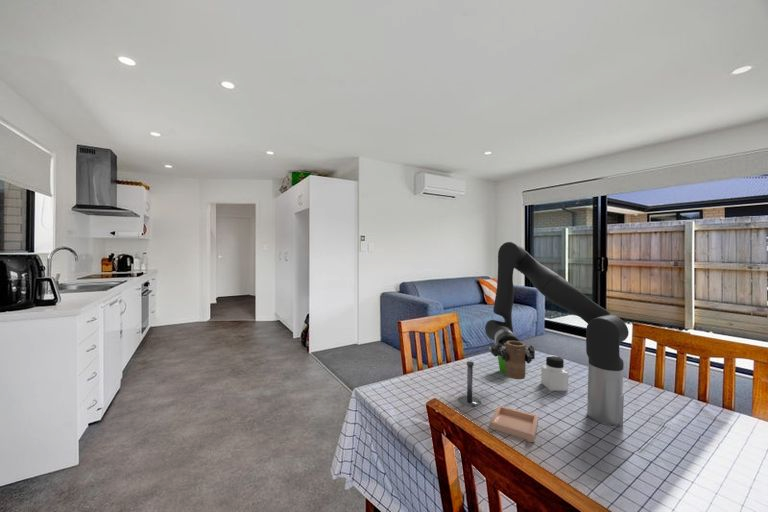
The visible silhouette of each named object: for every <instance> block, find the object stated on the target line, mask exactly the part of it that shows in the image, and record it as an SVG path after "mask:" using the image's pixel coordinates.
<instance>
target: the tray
mask: <svg viewBox="0 0 768 512" xmlns="http://www.w3.org/2000/svg"><path fill="white" fill-rule="evenodd" d="M489 424H490V426H489V428H490V429H492V430H494V431H497V432H501V433H504V434H508V435H512V436H515V437H518V438H521V439H524V440H525V441H526V442H527V441H528V443H531V442H534V443H535V439H536V435H537V430H538V426H539V415H537V414H533V413H530V412H526V411H522V410H519V409H514V408H511V407H508V406H507V407H506V406H502V405H501V404H500V405H499V404H498V405H497V407H496V409H495V412H494V413H493V416H492V417H491V419H490V423H489Z"/></svg>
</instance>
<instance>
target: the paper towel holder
mask: <svg viewBox="0 0 768 512" xmlns="http://www.w3.org/2000/svg"><path fill="white" fill-rule="evenodd" d="M474 364H475V363H474V362H473V361H469V360H468V361H466V366H467V368H466V369H467V370H466V371H467V372H466V373H467V377H466V379H467V381H466V395H461V396H459V397H458V398H457V402H458V403H459V404H461V405H462V406H465V407H468V408H477V407H480V406H481V405H482V401H481V400H480V399H479V398H478V397H475V396H473V380H474V379H473V378H474V377H473V373H474V372H473V370H474V366H475V365H474Z"/></svg>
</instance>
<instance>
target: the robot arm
mask: <svg viewBox="0 0 768 512" xmlns="http://www.w3.org/2000/svg"><path fill="white" fill-rule="evenodd" d="M514 270H516V271H517V272H520V273H521V274H522V275H524V276H525V277H526V278H527V279H528V280H529V281H530V282H531V284H532V285H533V286H534V288H536V290H537V291H538V292H539V293H540V294H541V295H543V296H544V298H546V299H547V300H548V301H550V302H551V303H553V304H555V305H556V306H558V307H560V308H562V309H564V310H565V311H568V312H570V313H572V314H574V315H576V316H577V317H579V318H580V319H581V320H583V321H585V323H586V324H587V325H586V329H585V331H586V332H585V348H586V349H585V350H586V355H587V358H588V364H587V365H588V366H587V368H588V369H587V371H588V372H587V400H586V401H587V404H586V405H587V406H586V414H587V416H588V417H589V418H590V419H592V420H593V421H596V422H598V423H601V424H603V425H608V426H619V427H623V426H624V404H625V403H624V401H625V397H624V393H623V392H624V391H623V390H624V368H625V367H624V360H623V359H622V358H621V357H620V344H621V343H622V342H624V341H626V340H627V339H628V338H629V335H630V334H629V333H630V332H629V327H628V325H627V324H626V323H625V322H624V321H623V320H622V318H620V317H619V316H617V315H615V314H614V313H612V312H610V311H609V310H607V309H605V308H604V307H602V306H600V305H599V304H597V303H596V302H595V301H593V300H592V299H591V298H590V297H588V296H587V295H586V294H584V293H583V292H581V291H580V290H579V289H578V288H577V287H575V286H574V285H573V284H571V283H570V282H569V281H568V280H566V279H565V278H563V277H562V276H561V275H559V274H558V273H556V271H553V270H552V269H550V268H548V267H547V266H545V265H543V264H541V263H540V262H539V261H537V260H536V259H535V258H534V257H533V256H532V255H531V254H530V253H529V252H528V251H526V250H525V248H523V246H520V245H519V244H517V243H515V242H512V241H507V242H504V243H503V244H502V245H500V247H499V248H498V253H497V283H496V284H497V285H496V290H495V291H496V292H495V298H494V303H493V307H492V308H493V309H492V310H493V314H496V315H497V316H500V317H501V318H503V321H500V320H495V319H491V320H490V319H489V320H488V321H487V322H486V323H485V327H484V330H485V331H484V332H485V335H486V336H487V338H489V339H490V340H493V341H494V343H492V342H490V343H489V345H488V346H489V349H488V351H489V352H490V353H491V354H492V356H493V357H494V358H495V357H498V355H499V356H500V357H501V358H502V359H503V360H504V361H507V353H506V342H507V341H520V340H519V338H518V337H517V336H516V334H515V333H514V327H513V320H512V318H513V317H512V312H513V306H514V299H515V289H514V280H513V279H514V278H513V277H514V276H513V275H514ZM534 348H535V347H534V346H533V345H529V346H527V347H526V363H527V364H531V363H532V360H535V357H536V356H535V355H536V354H535V353H536V350H535V349H534Z"/></svg>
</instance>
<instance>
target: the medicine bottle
mask: <svg viewBox="0 0 768 512" xmlns="http://www.w3.org/2000/svg"><path fill="white" fill-rule="evenodd" d="M545 361H546V362H545V365H541V368H540V369H541V372H540V374H541V375H540V379H541V380H540V383H541V384H542V385H543V386H544V387H545V388H546V389H547V390H548V391H550V392H551V391H552V392H553V391H554V392H555V391H558V392H561V391H562V392H568V391H569V372H567V371H566V370H565V369H564V367H565V366H564V359H563V358H562V357H560V356H557V355H547V356H546V358H545Z"/></svg>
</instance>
